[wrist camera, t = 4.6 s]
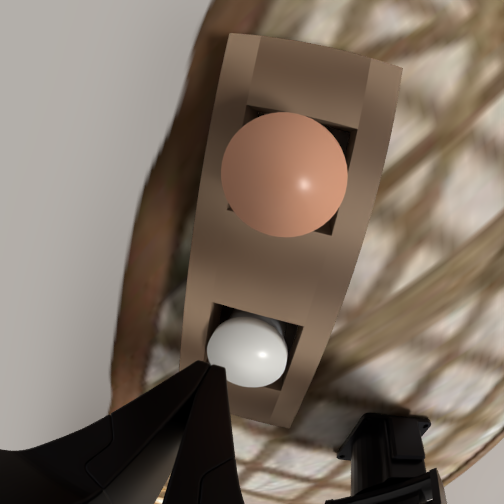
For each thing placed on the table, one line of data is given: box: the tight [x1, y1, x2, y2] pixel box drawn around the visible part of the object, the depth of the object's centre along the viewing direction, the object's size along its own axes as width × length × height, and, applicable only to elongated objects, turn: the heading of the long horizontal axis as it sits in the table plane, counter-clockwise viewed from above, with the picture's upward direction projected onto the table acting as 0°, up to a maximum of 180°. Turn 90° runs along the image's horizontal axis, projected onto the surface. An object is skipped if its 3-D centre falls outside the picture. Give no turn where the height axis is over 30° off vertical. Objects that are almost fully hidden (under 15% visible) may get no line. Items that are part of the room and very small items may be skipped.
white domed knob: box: [207, 308, 288, 387], centre depth 18 cm, size 4×4×4 cm
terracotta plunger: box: [221, 112, 348, 237], centre depth 12 cm, size 4×4×4 cm
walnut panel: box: [179, 33, 403, 429], centre depth 17 cm, size 22×8×3 cm, turn 169°
